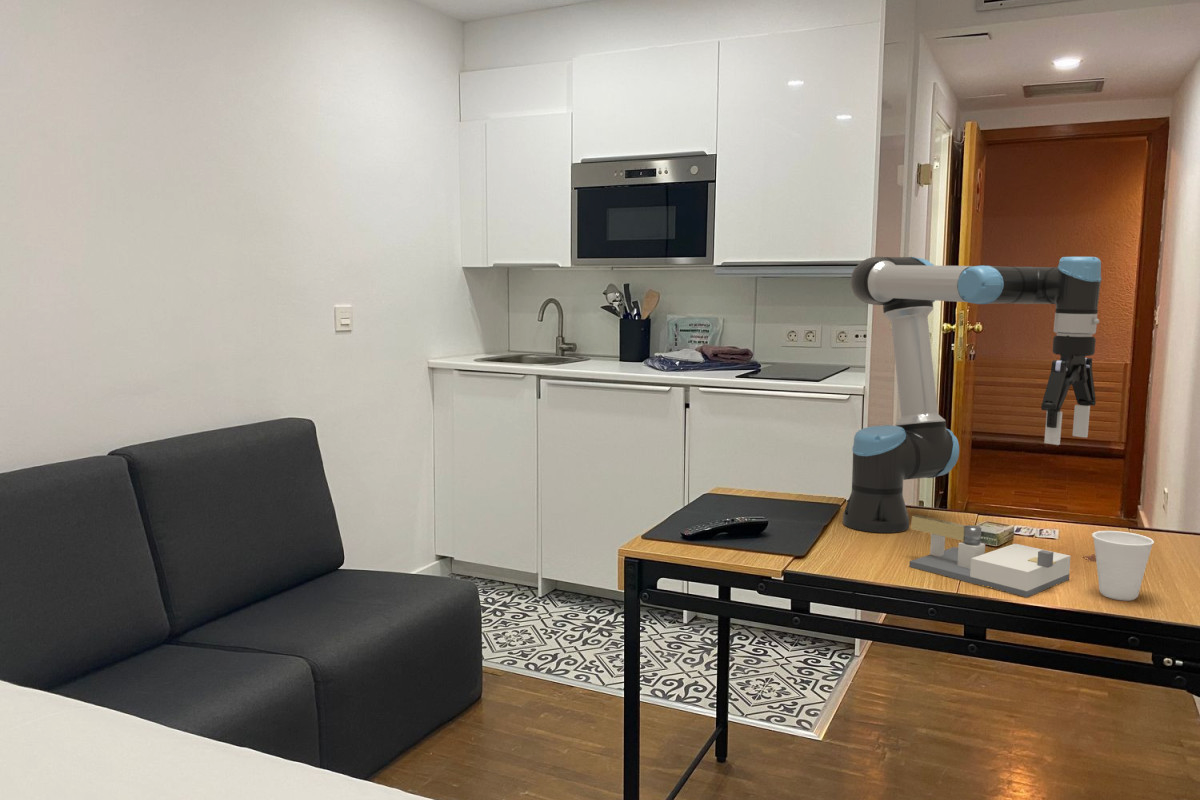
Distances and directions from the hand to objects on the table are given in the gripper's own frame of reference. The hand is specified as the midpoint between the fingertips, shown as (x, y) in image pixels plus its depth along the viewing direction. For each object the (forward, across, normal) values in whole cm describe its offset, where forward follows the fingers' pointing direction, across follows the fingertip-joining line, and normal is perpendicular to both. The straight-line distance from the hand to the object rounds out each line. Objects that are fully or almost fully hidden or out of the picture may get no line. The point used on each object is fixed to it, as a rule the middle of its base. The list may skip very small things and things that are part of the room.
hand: (1066, 440), depth 186 cm
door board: (+26, -17, +6) cm, 32 cm away
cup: (+26, -12, -16) cm, 33 cm away
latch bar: (+20, -19, +15) cm, 31 cm away
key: (+26, +5, -7) cm, 28 cm away
